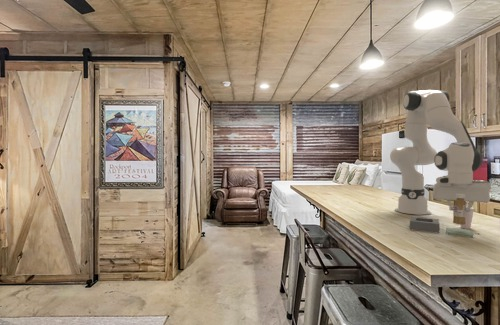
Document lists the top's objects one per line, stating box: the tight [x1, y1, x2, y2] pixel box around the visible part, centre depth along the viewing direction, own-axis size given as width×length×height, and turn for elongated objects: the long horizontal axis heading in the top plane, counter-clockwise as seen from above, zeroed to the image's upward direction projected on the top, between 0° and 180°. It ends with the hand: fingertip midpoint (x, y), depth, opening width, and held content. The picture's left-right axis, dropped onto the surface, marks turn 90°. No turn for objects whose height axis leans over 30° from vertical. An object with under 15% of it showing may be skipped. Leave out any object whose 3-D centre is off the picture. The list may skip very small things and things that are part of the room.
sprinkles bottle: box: [452, 194, 467, 225], centre depth 125 cm, size 5×5×14 cm
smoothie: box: [460, 201, 475, 230], centre depth 135 cm, size 6×6×14 cm
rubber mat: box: [445, 227, 474, 238], centre depth 126 cm, size 9×9×1 cm
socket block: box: [409, 215, 441, 234], centre depth 134 cm, size 11×11×4 cm
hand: (459, 210), depth 126 cm, fingers closed on sprinkles bottle, 4 cm apart
